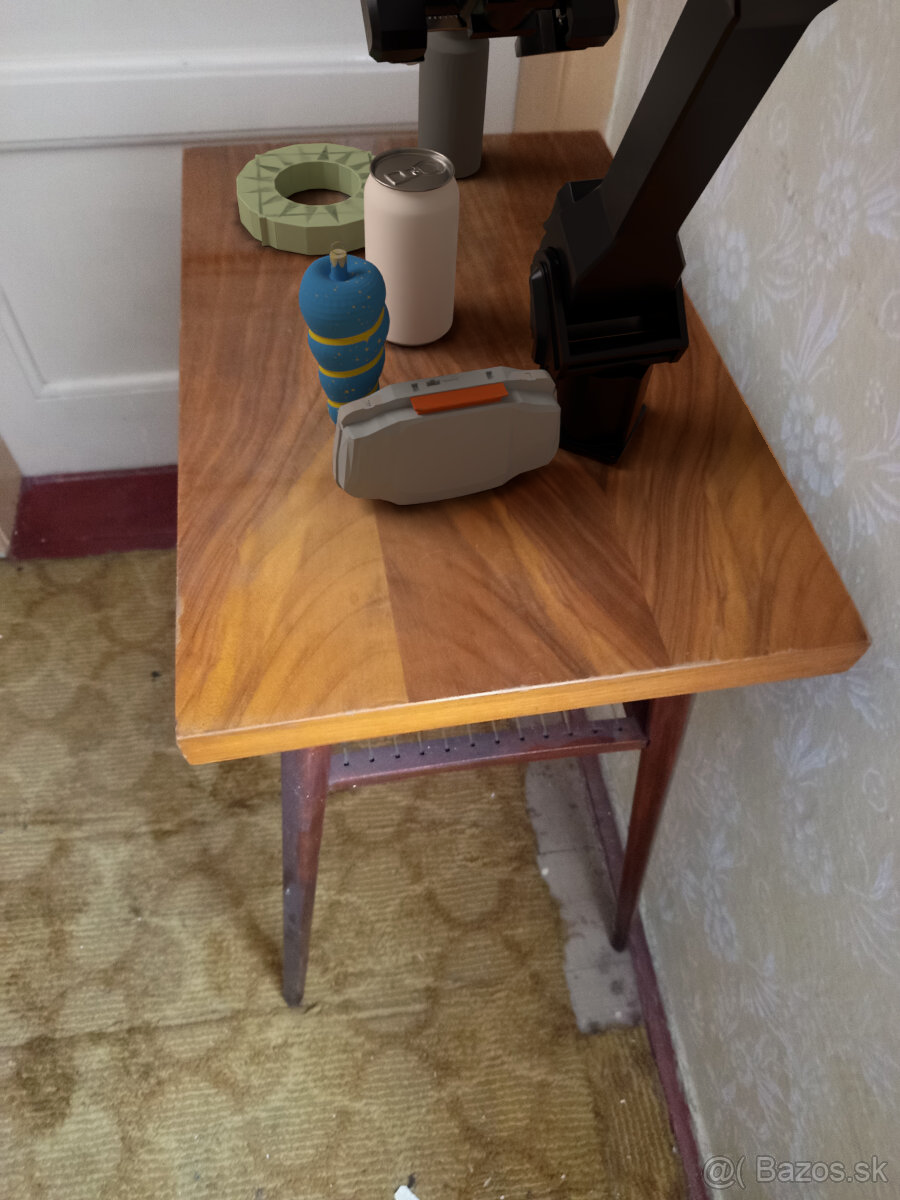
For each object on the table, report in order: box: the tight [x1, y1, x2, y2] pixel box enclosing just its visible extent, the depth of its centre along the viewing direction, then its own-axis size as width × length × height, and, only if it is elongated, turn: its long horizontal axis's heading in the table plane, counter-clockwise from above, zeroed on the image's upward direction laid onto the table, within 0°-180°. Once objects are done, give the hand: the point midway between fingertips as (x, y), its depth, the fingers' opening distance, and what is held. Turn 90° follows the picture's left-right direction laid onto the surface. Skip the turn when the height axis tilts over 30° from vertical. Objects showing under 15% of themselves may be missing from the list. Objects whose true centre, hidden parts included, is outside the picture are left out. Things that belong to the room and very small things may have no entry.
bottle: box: [417, 15, 490, 179], centre depth 78 cm, size 6×6×15 cm
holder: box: [235, 142, 376, 256], centre depth 77 cm, size 13×13×2 cm
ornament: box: [298, 242, 390, 426], centre depth 55 cm, size 5×5×15 cm
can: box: [364, 146, 461, 347], centre depth 65 cm, size 6×6×12 cm
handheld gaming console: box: [332, 365, 561, 506], centre depth 56 cm, size 14×3×8 cm, turn 107°
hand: (463, 54), depth 75 cm, fingers open, 9 cm apart
